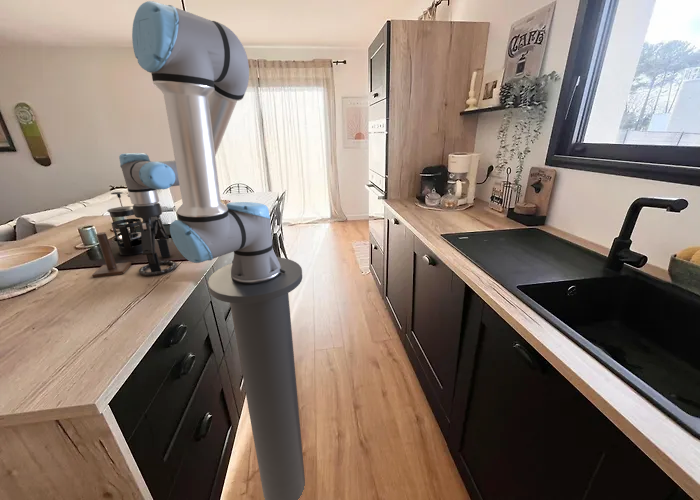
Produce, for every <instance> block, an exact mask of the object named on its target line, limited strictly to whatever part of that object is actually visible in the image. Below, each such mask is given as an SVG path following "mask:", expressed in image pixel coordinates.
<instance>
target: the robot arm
mask: <svg viewBox="0 0 700 500" xmlns="http://www.w3.org/2000/svg"><path fill="white" fill-rule="evenodd" d="M131 30H132V31H131V38H132V39H131V40H132V41H131V42H132V49H133V53H134V57H135V58H136V59H137V63H138V65H139V66H140V68H142V70H144V71H145V72H148V73H150V74H151V80H152V84H153V85H154V86H155V87H156V88H158V89H159V90H160V91H161V92H162V94H163V99H164V104H165V110H166V116H167V122H168V127H169V133H170V138H171V145H172V150H173V156H174V160H157V161H156V160H155V161H152V160H150V156H149V155H148V154H147V153H143V152H129V153H126V152H125V153H120V154H119V156H118V157H119V164H120V167H119V168H120V169H121V172H122V175H123V177H124V182H125V185H126V189H127V195H126V196H127V197H128V198H129V200H130V203H131V204H132V206H133V207H132V208H133V211H134V215H133V216H134V218H135V217H136V219H141V220H142V223H140V224H139V225H138V226H139V229H140V233H141V237H140V240H142V250H143V253H141V254H142V256H146V259H147V262H148V263H147V264H149V266H150V267H149V270H150V272H156V271H161V270H162V267H161V265H160V264H159V261H160V259H159V256H158V252H156V239H158V240H157V245H158V249H159V254H160V256H161V258H168V257H171V252H170V249H169V244H168V239H169V238H170V236H171V239H172V242H173V245H175V247H176V249H177V250H178V252H179V253H180V255H182V256H183V258H184V259H185V260H187V261H189V262H191V263H193V264H200V263H204V262H206V261H212V260H213V259H217V258H220V257H223V256H224V255H228V254H231V253H233V258H232V260H231V263H232V268H231V278H232V280H233V281H234V282H236V283H239V284H243V285H255V284H262V283H266V282H269V281H271V280H273V279H275V278H277V277H278V276H279V275H280V274H281V272H282V273H285V271H284V270H282V269H281V266H280V263H279V261H278V259H277V257H278V256H277V254H276V253H275V251H274V246H273V245H274V244H273V236H272V227H271V226H272V224H271V217H270V210H269V207H268V206H267V205H266V204H264V203H260V202H251V201H233V202H228V203H226V204H224V203H222V200H221V193H220V184H219V175H218V167H217V159H216V156H217V153H218V151H219V148H220V145H221V143H222V141H223V138H224V137H225V133H226V131H227V128H228V125H229V123H230V121H231V118H232V115H233V114H234V110H235V108H236V106H237V103H238V102H239V101H242V100H243V99H244V97H245V94H246V92H247V90H248V85H249V80H250V64H249V59H248V55H247V52H246V49H245V48H244V45H243V43H242V42H241V40H240V38H239V37H238V36H237V35H236V34H235V32H234V31H233V30H232V29H230V28H229V27H228V26H226V25H225V24H223V23H220V22H218V21H215V20H211V19H208V18H206V17H203V16H200V15H198V14H194V13H192V12H189V11H186V10H183V9H180V8H179V7H175V6H174V5H172V4H164V3H160V2H156V1H154V0H153V1H151V0H148V1H147V0H146V1H145V2H143V3H141V4H140V5H139V7H138V8H137V10H136V12H135V15H134V18H133V22H132V29H131ZM177 186H179V192H180V196H181V202H182V203H181V205H180V206H179V207H178V208H177V210H176V215H177V219H174V220H173V221H172V222H171V223H170V225H169V233H170V236H169V235H168V232H167V230H166V227H165V226H164V223H163V220H162V218H161V215H163V210H162V207H161V203H159V202H160V198H159V194H158V193H159V192H158V190H168V189H170V188H172V187H177Z"/></svg>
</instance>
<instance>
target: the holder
mask: <svg viewBox="0 0 700 500" xmlns="http://www.w3.org/2000/svg"><path fill="white" fill-rule="evenodd" d="M95 235H96V239H97V241H98V244H99V247H100V250H101V251H100V252H101V253H102V257H103V259H104V262H105V264H102V265H101V266H100V267H99V268H98V269H97V270H96V271H95V272H93V273H92V275H91V276H92V278H101V277H109V276H116V275H124V273H125V272H126V271H127V270H128V269H129V268H130V267H131V266H132V262H131V261H127V262H118V263H117V262H116V260H115V257H114V254H113V250H112V247H111V244H110V242H109V238H108V236H107V233H106V232H103V231H102V232H98V233H96V234H95Z"/></svg>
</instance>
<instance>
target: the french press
mask: <svg viewBox="0 0 700 500" xmlns="http://www.w3.org/2000/svg"><path fill="white" fill-rule="evenodd" d="M110 194H111V195H116V197H117V198H118V200H119V202H120V206H118V207H113V208H109V209H107V211H106V212H108V213H109V215H110V217H111V218H123V217H124V219H119V220H115V221H112V222H111V224H110V225H111V227H112V230H113V233H114V237H115V241H116V243H117V246H118V249H119V255H120V256H125V257H130V256H136V255H141V254H142V253H143V250H142V240H141V231H140V232H139V231H138V232H137V229H136V227H137V226H139V224H140V223H143V221H142V218H127V217H131V216H135V215H134V211H133V208H132V207H133V205H129V206H128V205H127V206H126V205H125V206H123V203H122V200H121V198H122V196H121V195H123V194H126V192H125V191H114V192H111V193H110ZM117 229H118V230H119V233H120V235H118V232H117ZM121 241H122V242H121Z"/></svg>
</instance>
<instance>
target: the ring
mask: <svg viewBox="0 0 700 500" xmlns="http://www.w3.org/2000/svg"><path fill="white" fill-rule="evenodd" d="M159 264H160V266H161V265H170V266H169V267H166V268H164V269H161V271H156V272H151V271H145V270H148V269H150V266H149V263H147V264H145V265H143V266H141V267H140V268H139V270H138V273H139V275H141V276H144V277H154V276H161V275H164V274H167V273H169V272H172V271H173V270H175V269H176V267H177V264H176V262H174V261H172V260H159Z"/></svg>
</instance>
